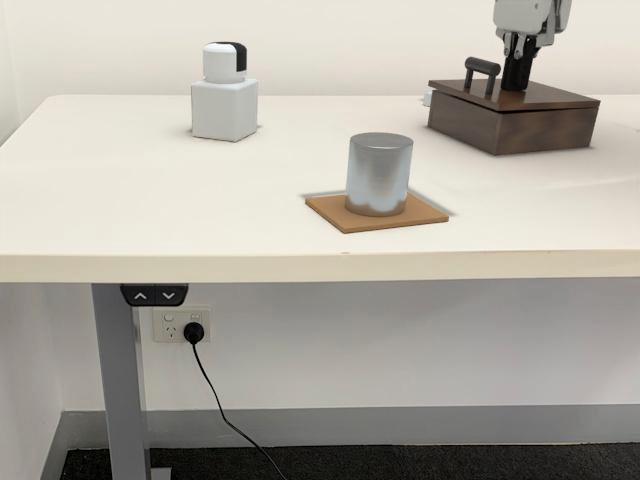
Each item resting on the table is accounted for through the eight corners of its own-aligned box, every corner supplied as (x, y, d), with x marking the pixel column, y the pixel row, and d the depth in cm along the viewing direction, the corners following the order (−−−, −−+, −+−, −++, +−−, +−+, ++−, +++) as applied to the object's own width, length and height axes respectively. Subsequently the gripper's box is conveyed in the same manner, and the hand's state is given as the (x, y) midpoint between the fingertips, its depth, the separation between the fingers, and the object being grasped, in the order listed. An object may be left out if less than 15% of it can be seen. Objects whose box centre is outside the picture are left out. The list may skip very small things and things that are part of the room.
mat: (401, 192, 86) (402, 188, 86) (448, 221, 78) (449, 216, 78) (304, 202, 83) (305, 198, 82) (343, 233, 75) (344, 228, 75)
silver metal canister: (387, 195, 84) (394, 130, 80) (416, 213, 78) (425, 145, 75) (334, 200, 82) (339, 134, 78) (360, 219, 77) (367, 150, 73)
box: (493, 162, 97) (502, 114, 94) (426, 132, 110) (432, 89, 107) (587, 153, 101) (599, 107, 98) (511, 125, 114) (519, 84, 111)
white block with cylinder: (214, 126, 112) (213, 38, 106) (257, 131, 110) (259, 41, 103) (191, 136, 107) (189, 44, 101) (236, 142, 104) (236, 48, 98)
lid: (498, 110, 93) (506, 70, 91) (427, 86, 107) (433, 50, 104) (599, 107, 98) (610, 68, 95) (519, 83, 111) (527, 49, 109)
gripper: (612, -69, 87) (573, 98, 97) (531, -71, 99) (503, 78, 109) (558, -69, 85) (524, 102, 95) (482, -72, 97) (458, 81, 107)
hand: (513, 89), depth 102 cm, fingers closed
